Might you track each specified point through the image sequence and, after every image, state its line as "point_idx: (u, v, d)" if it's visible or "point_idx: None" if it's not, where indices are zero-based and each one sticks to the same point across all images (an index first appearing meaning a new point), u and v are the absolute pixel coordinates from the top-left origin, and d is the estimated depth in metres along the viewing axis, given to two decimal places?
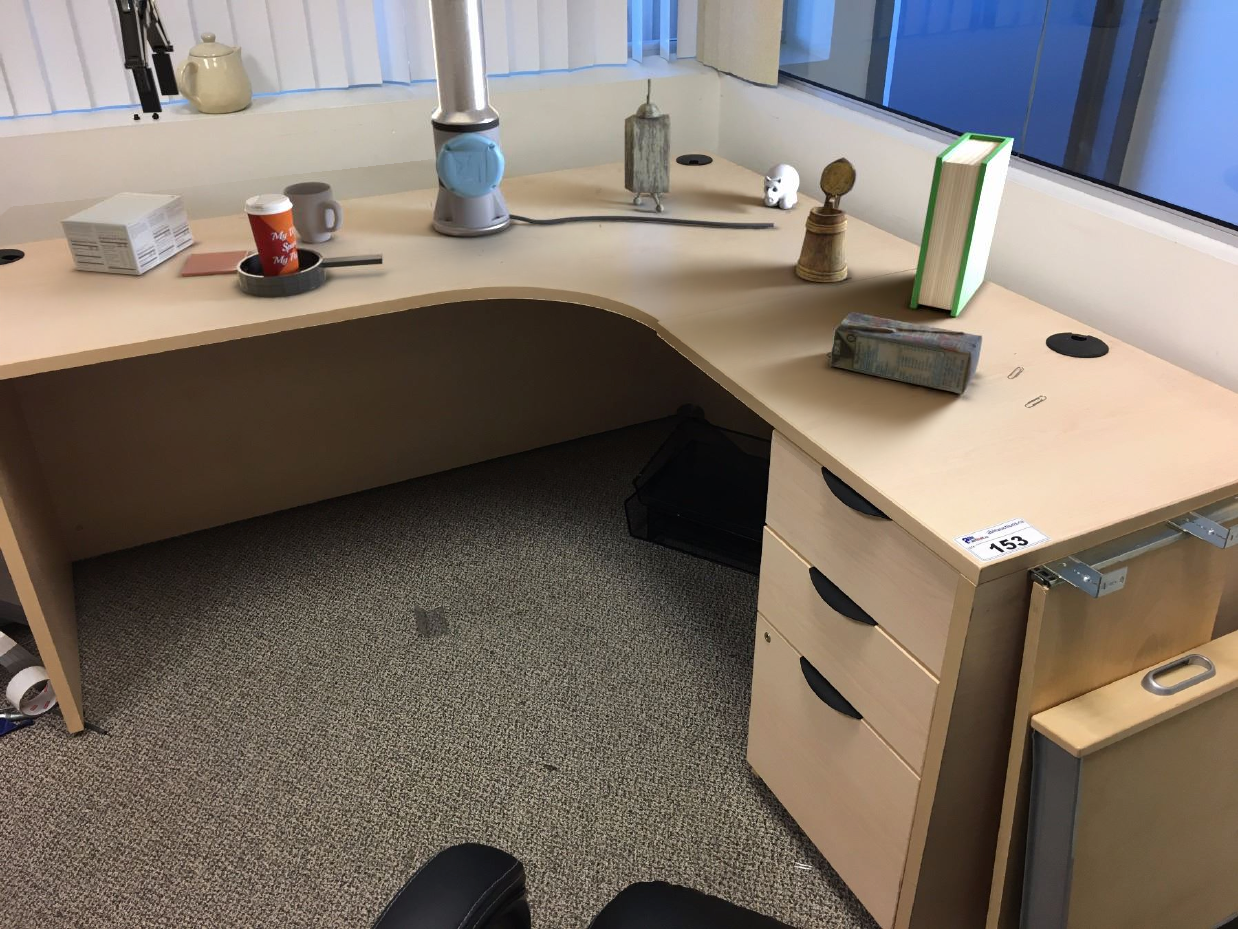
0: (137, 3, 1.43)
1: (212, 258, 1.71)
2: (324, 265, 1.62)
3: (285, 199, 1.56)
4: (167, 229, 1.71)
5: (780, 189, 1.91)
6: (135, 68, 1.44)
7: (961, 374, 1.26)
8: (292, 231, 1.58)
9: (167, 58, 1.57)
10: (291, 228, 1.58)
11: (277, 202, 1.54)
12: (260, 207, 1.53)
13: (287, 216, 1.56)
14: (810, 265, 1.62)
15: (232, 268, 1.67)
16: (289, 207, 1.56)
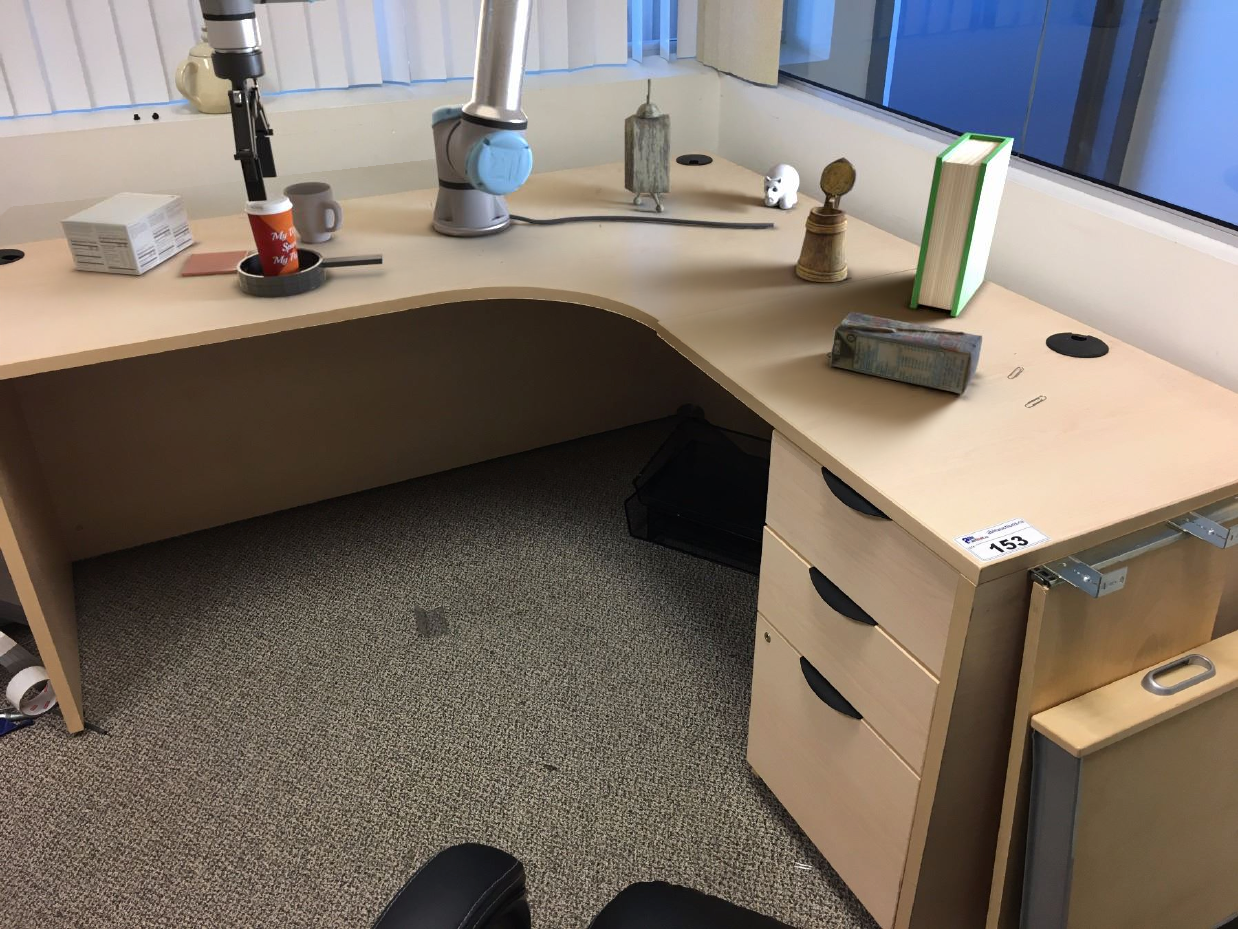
0: (247, 95, 1.43)
1: (212, 258, 1.71)
2: (324, 265, 1.62)
3: (285, 199, 1.56)
4: (167, 229, 1.71)
5: (780, 189, 1.91)
6: (244, 159, 1.44)
7: (961, 374, 1.26)
8: (292, 231, 1.58)
9: (267, 142, 1.57)
10: (291, 228, 1.58)
11: (277, 202, 1.54)
12: (260, 207, 1.53)
13: (287, 216, 1.56)
14: (810, 265, 1.62)
15: (232, 268, 1.67)
16: (289, 207, 1.56)
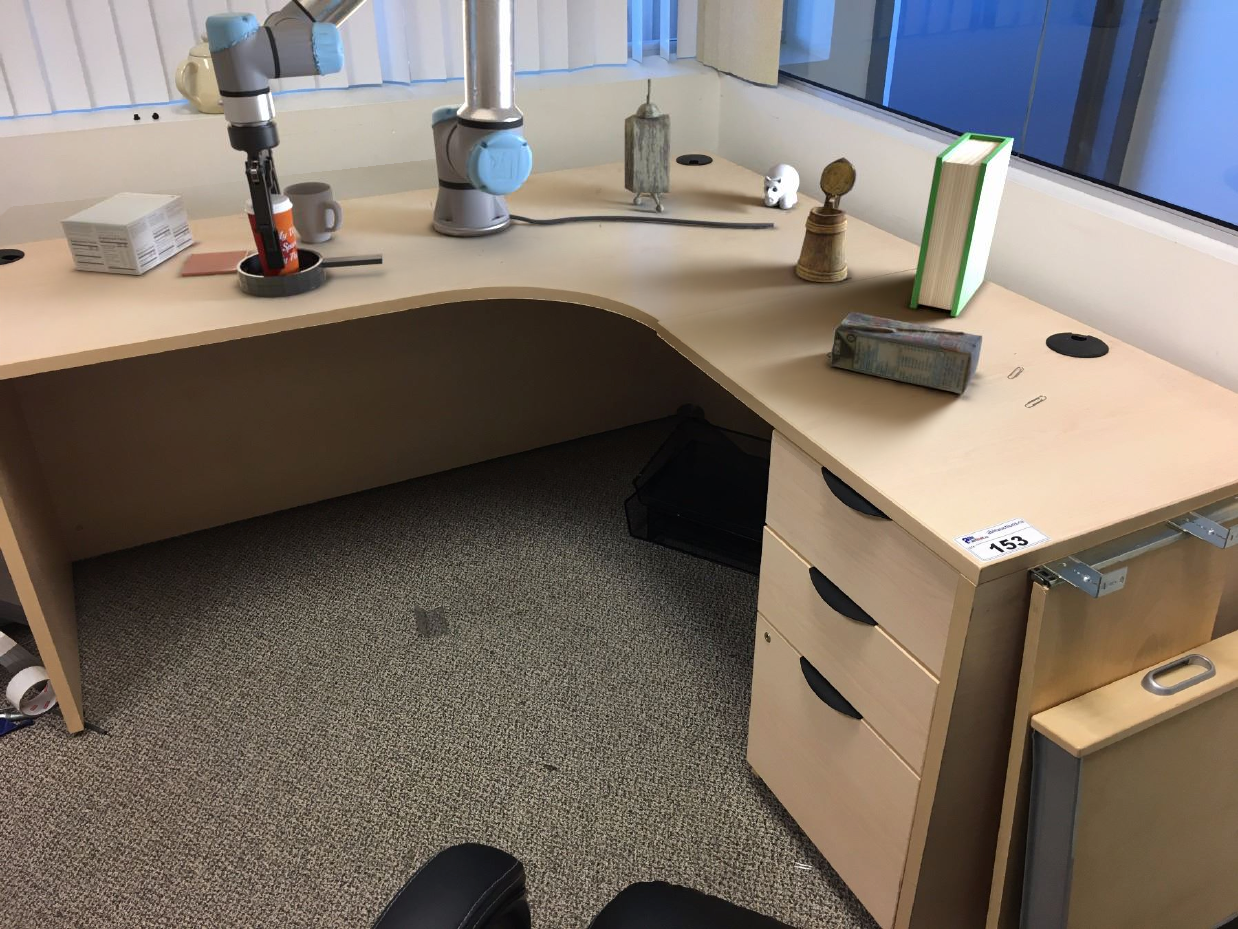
0: (262, 165, 1.49)
1: (212, 258, 1.71)
2: (324, 265, 1.62)
3: (285, 199, 1.56)
4: (167, 229, 1.71)
5: (780, 189, 1.91)
6: (264, 232, 1.52)
7: (961, 374, 1.26)
8: (292, 231, 1.58)
9: None
10: (291, 228, 1.58)
11: (277, 202, 1.54)
12: None
13: (287, 216, 1.56)
14: (810, 265, 1.62)
15: (232, 268, 1.67)
16: (289, 207, 1.56)
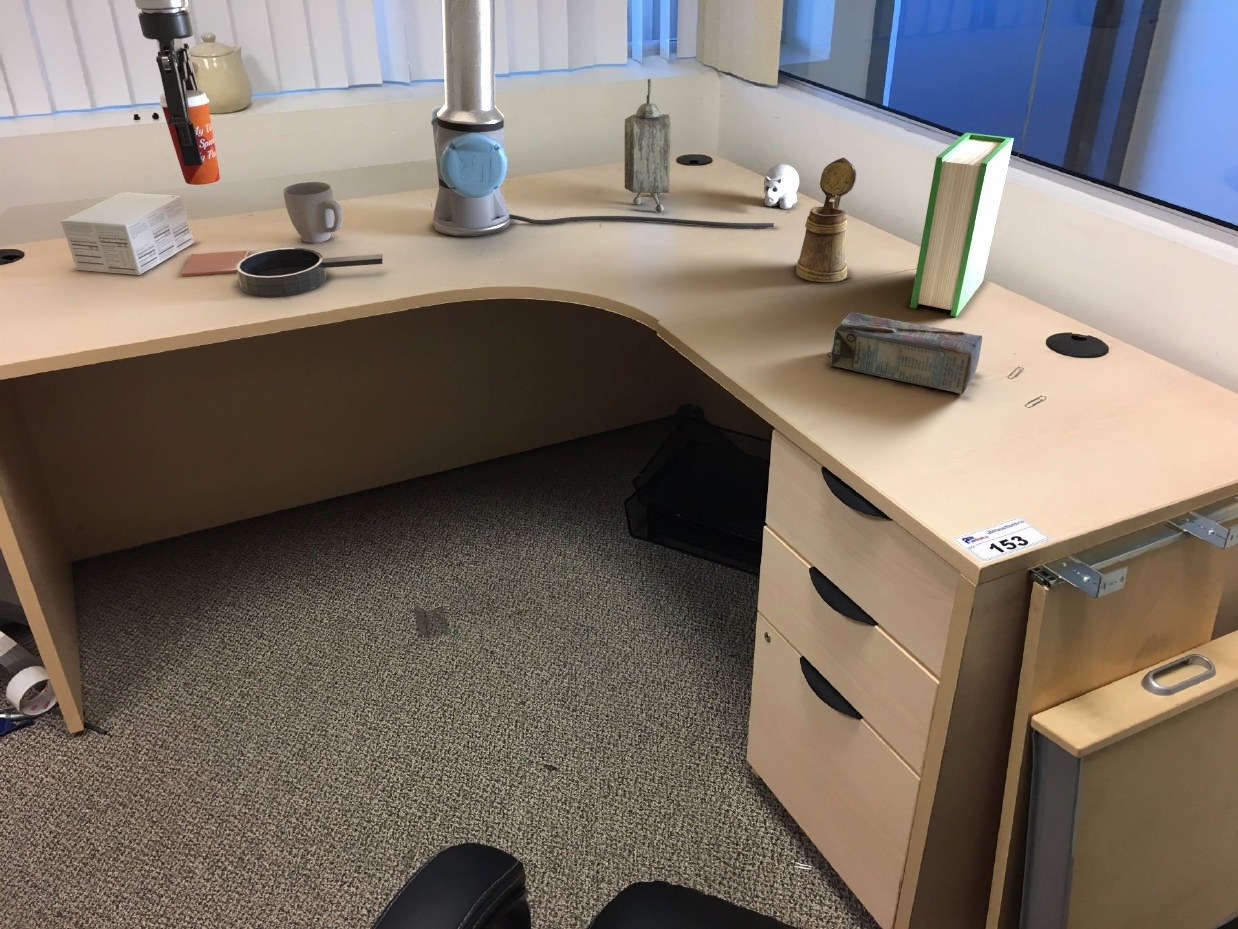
0: (175, 54, 1.47)
1: (212, 258, 1.71)
2: (324, 265, 1.62)
3: (201, 94, 1.53)
4: (167, 229, 1.71)
5: (780, 189, 1.91)
6: (178, 124, 1.50)
7: (961, 374, 1.26)
8: (209, 128, 1.56)
9: None
10: (208, 124, 1.55)
11: (192, 96, 1.52)
12: None
13: (203, 110, 1.53)
14: (810, 265, 1.62)
15: (232, 268, 1.67)
16: (205, 102, 1.53)
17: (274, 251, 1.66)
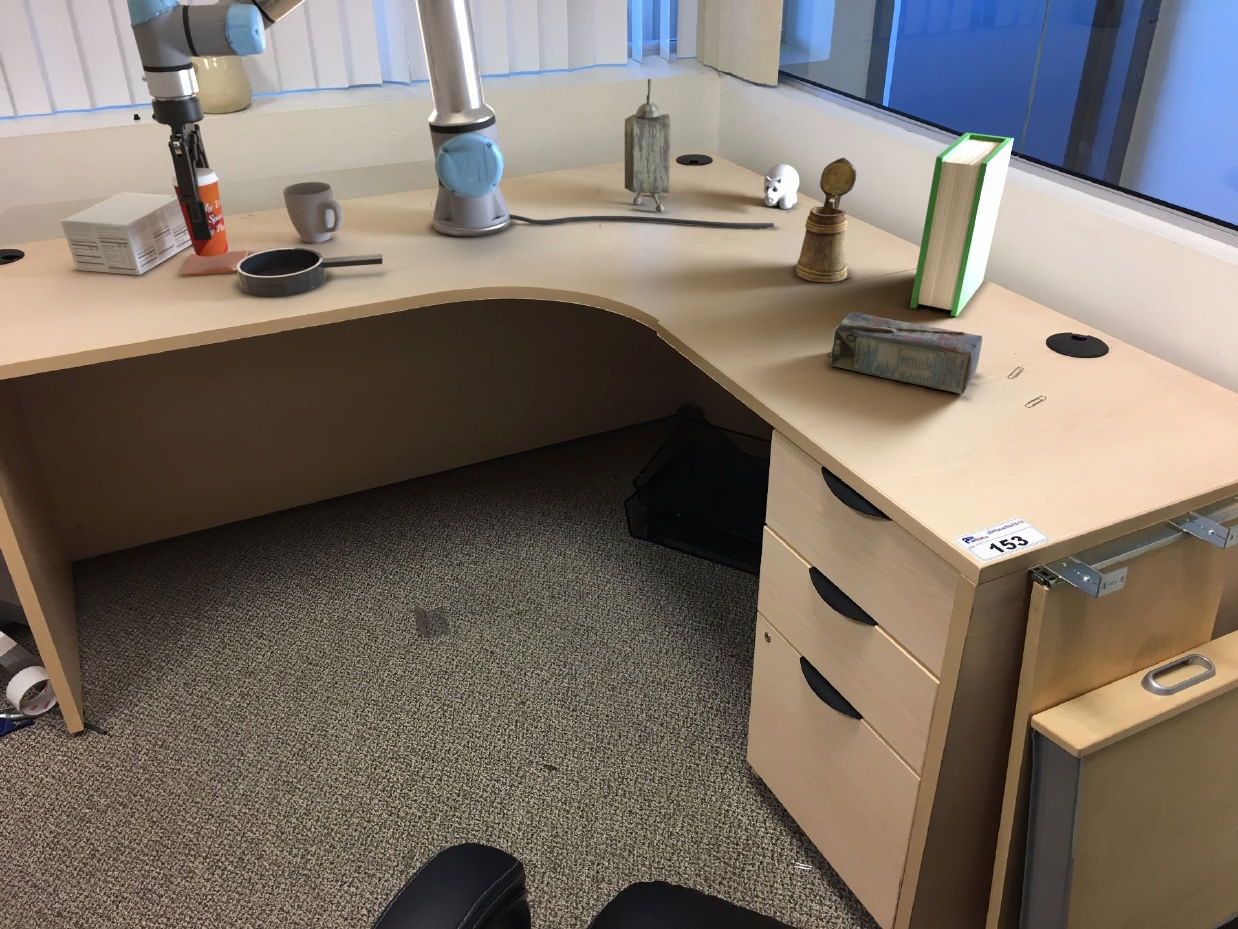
0: (186, 138, 1.55)
1: (212, 258, 1.71)
2: (324, 265, 1.62)
3: (210, 172, 1.62)
4: (167, 229, 1.71)
5: (780, 189, 1.91)
6: (189, 203, 1.58)
7: (961, 374, 1.26)
8: (218, 203, 1.64)
9: None
10: (217, 200, 1.64)
11: (202, 175, 1.60)
12: None
13: (212, 188, 1.62)
14: (810, 265, 1.62)
15: (232, 268, 1.67)
16: (214, 180, 1.62)
17: (274, 251, 1.66)
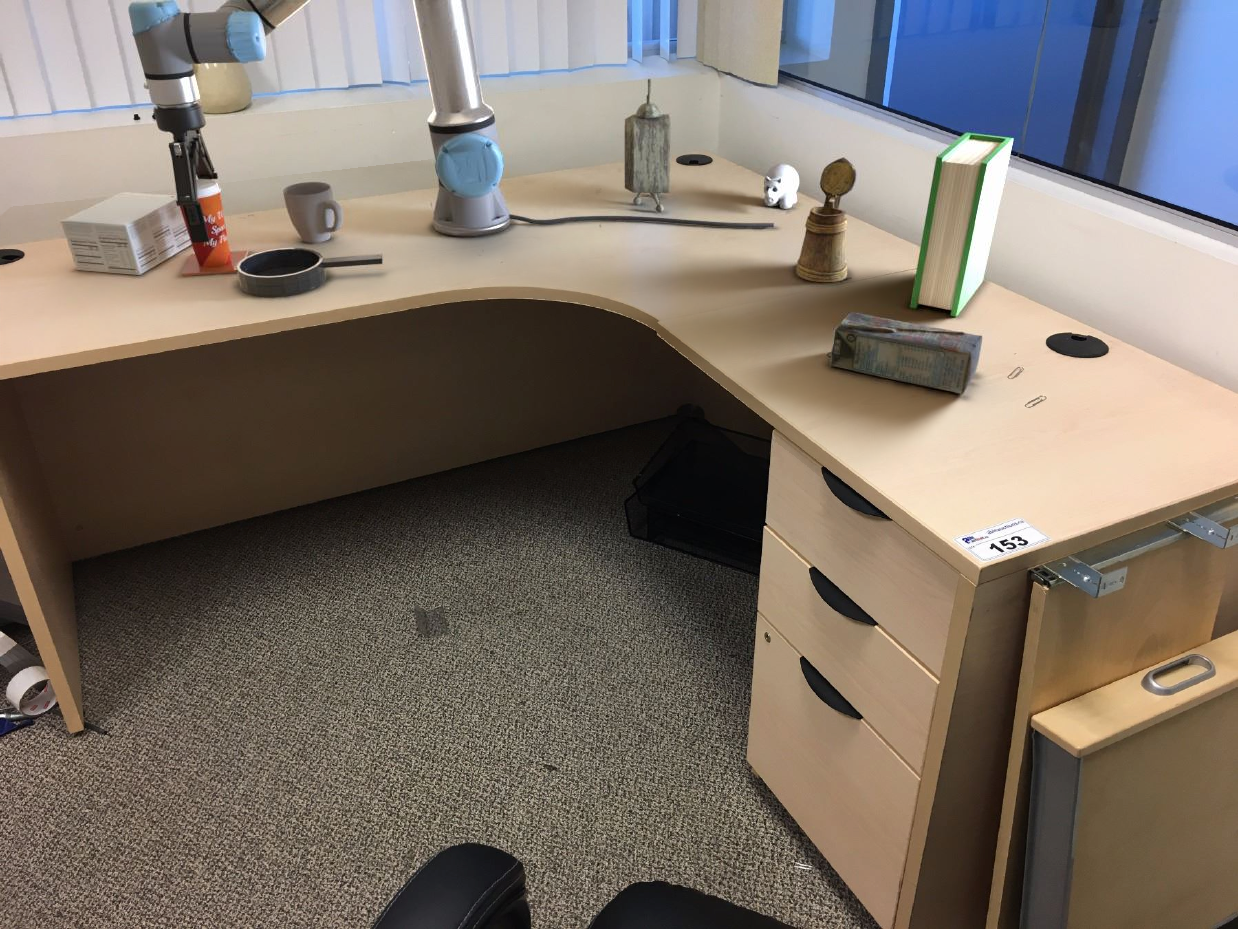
0: (188, 145, 1.56)
1: None
2: (324, 265, 1.62)
3: (213, 184, 1.63)
4: (167, 229, 1.71)
5: (780, 189, 1.91)
6: (186, 205, 1.56)
7: (961, 374, 1.26)
8: (221, 215, 1.65)
9: None
10: (220, 212, 1.65)
11: (205, 186, 1.61)
12: None
13: (215, 200, 1.63)
14: (810, 265, 1.62)
15: (232, 268, 1.67)
16: (217, 191, 1.63)
17: (274, 251, 1.66)
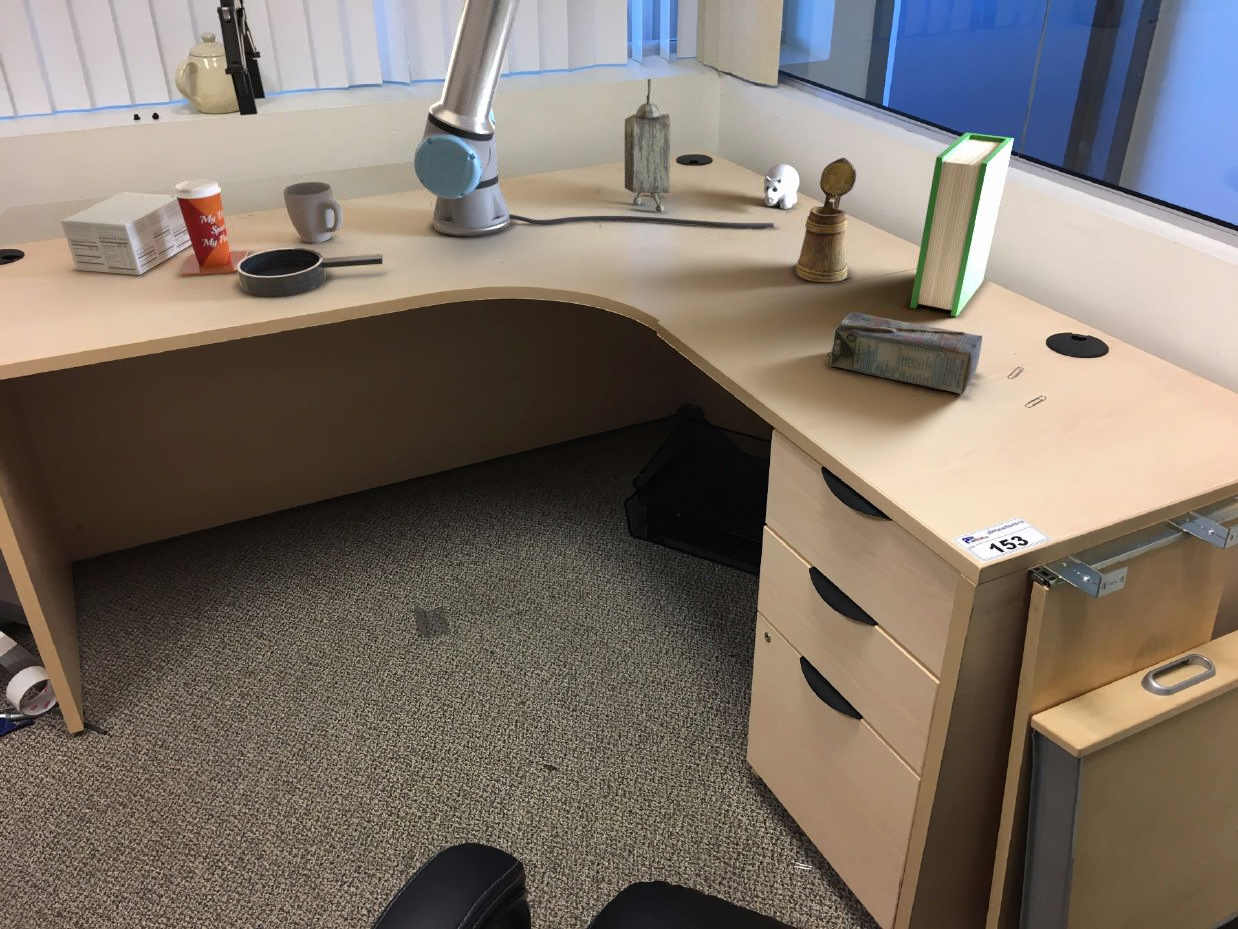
0: (235, 12, 1.53)
1: None
2: (324, 265, 1.62)
3: (213, 184, 1.63)
4: (167, 229, 1.71)
5: (780, 189, 1.91)
6: (235, 73, 1.53)
7: (961, 374, 1.26)
8: (221, 215, 1.65)
9: (255, 64, 1.67)
10: (220, 212, 1.65)
11: (205, 186, 1.61)
12: (188, 191, 1.60)
13: (215, 200, 1.63)
14: (810, 265, 1.62)
15: (232, 268, 1.67)
16: (217, 191, 1.63)
17: (274, 251, 1.66)
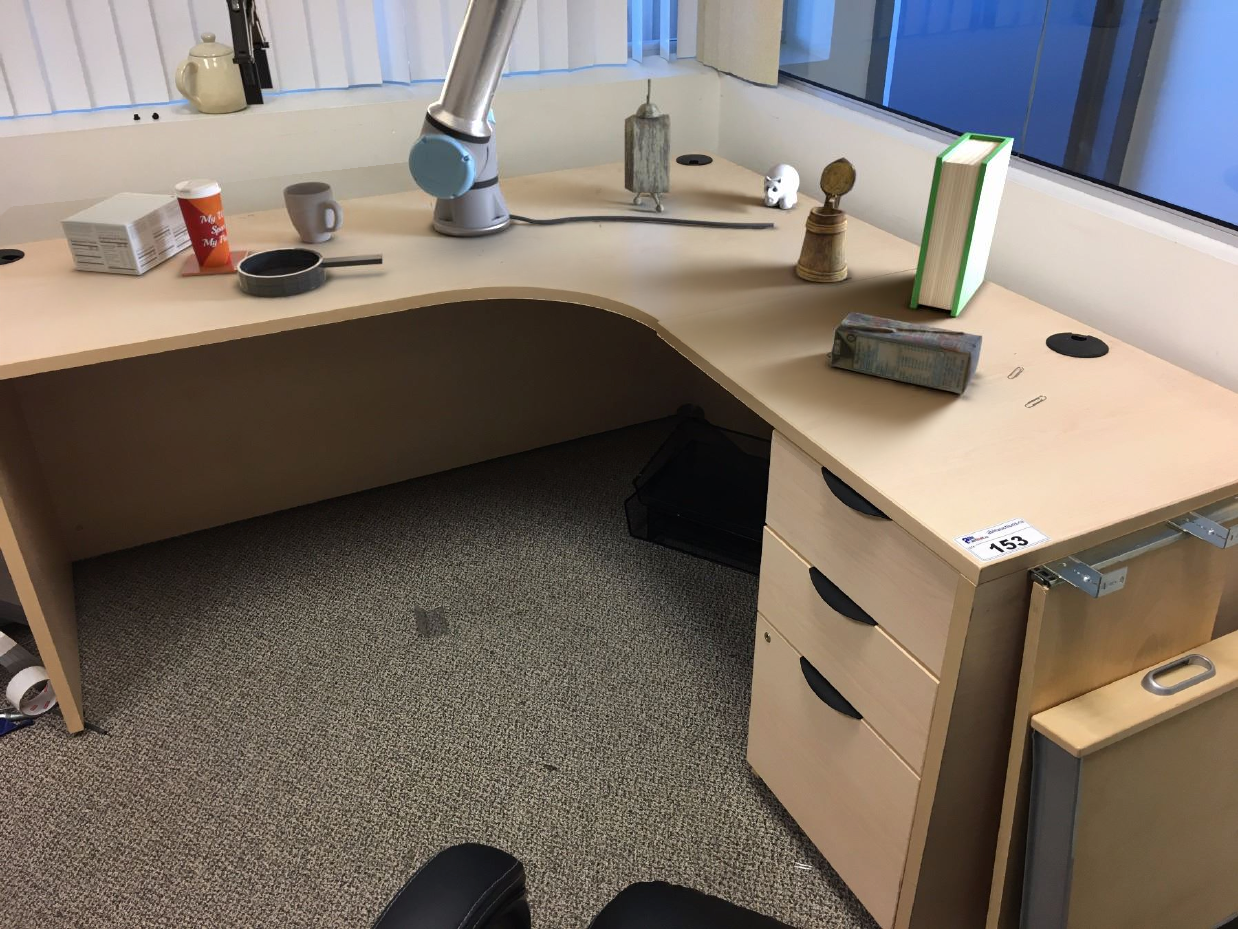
0: (244, 2, 1.54)
1: None
2: (324, 265, 1.62)
3: (213, 184, 1.63)
4: (167, 229, 1.71)
5: (780, 189, 1.91)
6: (242, 63, 1.54)
7: (961, 374, 1.26)
8: (221, 215, 1.65)
9: (264, 54, 1.68)
10: (220, 212, 1.65)
11: (205, 186, 1.61)
12: (188, 191, 1.60)
13: (215, 200, 1.63)
14: (810, 265, 1.62)
15: (232, 268, 1.67)
16: (217, 191, 1.63)
17: (274, 251, 1.66)
